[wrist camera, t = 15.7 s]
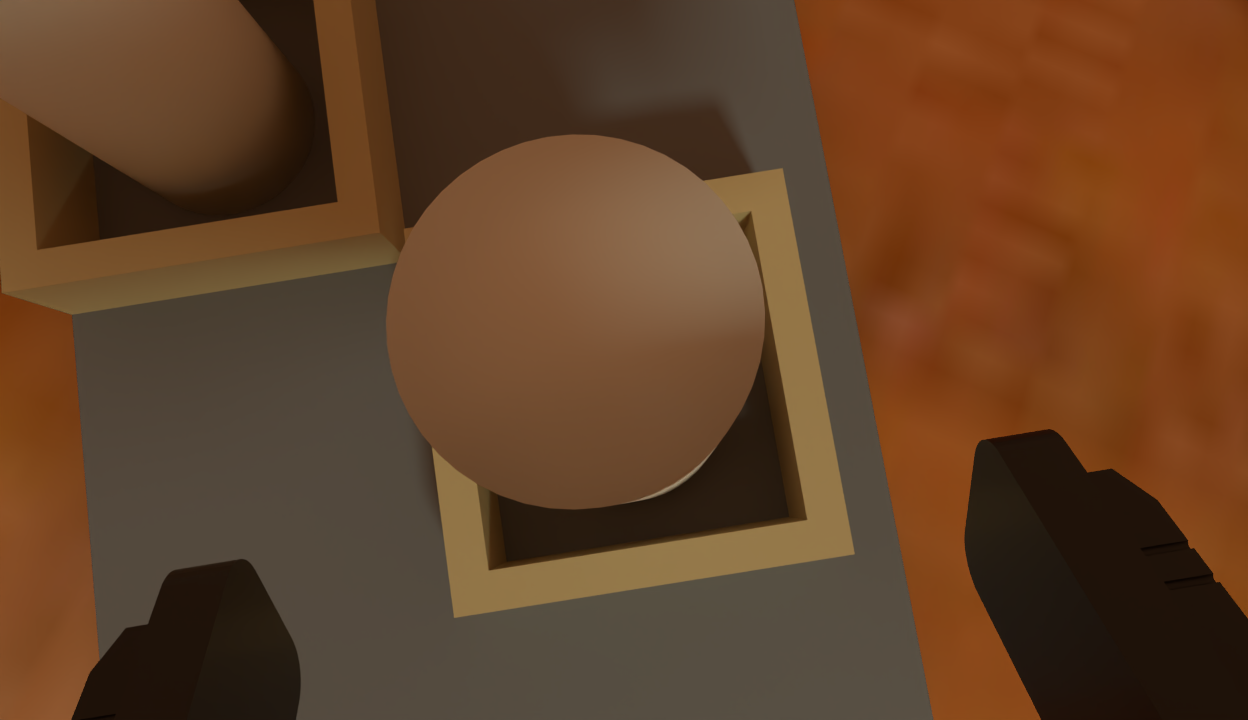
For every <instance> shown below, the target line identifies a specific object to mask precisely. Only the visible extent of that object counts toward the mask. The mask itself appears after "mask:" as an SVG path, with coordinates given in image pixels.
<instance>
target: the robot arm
mask: <svg viewBox="0 0 1248 720" xmlns="http://www.w3.org/2000/svg"><path fill="white" fill-rule="evenodd" d="M965 551H966V557H967V562H968V567H969V570H970V574H971V577H972V580H973V583H974V585H975V588H976V590H977V592H978V594H979V596H980V598H981V600H982V602H983V604H984V606H985V608H986V610H987V612H988V614H989V616H990V618H991V620H992V622H993V624H994V626H995V628H996V630H997V632H998V634H999V636H1000V638H1001V640H1002V642H1003V644H1004V646H1005V648H1006V650H1007V652H1008V654H1009V656H1010V658H1011V660H1012V662H1013V664H1014V666H1015V668H1016V670H1017V672H1018V674H1019V676H1020V678H1021V680H1022V682H1023V684H1024V686H1025V688H1026V690H1027V692H1028V694H1029V696H1030V698H1031V700H1032V702H1033V704H1034V706H1035V708H1036V710H1037V712H1038V714H1039V716H1040V718H1041V720H1248V619H1247V617H1246V616H1245V615H1244V613H1243V612H1242V611H1241V609H1240V608H1239V607H1238V605H1237V604H1236V603H1235V601H1234V600H1233V599H1232V598H1231V596H1230V595H1229V594H1228V592H1227V591H1226V590H1225V588H1224V587H1223V586H1222V584H1221V583H1220V582H1217V583H1216V582H1215V580H1214V578H1213V573H1212V571H1211V570H1210V569H1209V567H1208V566H1207V565H1206V563H1205V562H1204V561H1203V559H1202V558H1201V557H1200V555H1199V554H1198V553H1197V552H1196V550H1195V549H1194V548H1192V549H1190V547H1189V546H1188V540H1187V538H1186V537H1185V536H1184V534H1183V533H1182V532H1181V531H1180V529H1179V528H1178V527H1177V525H1176V524H1175V523H1174V521H1173V520H1172V519H1171V517H1170V516H1169V515H1168V513H1167V512H1166V511H1165V509H1164V508H1163V507H1162V506H1161V504H1160V503H1159V502H1158V500H1156V499H1155V498H1154V497H1152V496H1151V495H1149V494H1148V493H1146V492H1145V491H1143V490H1142V489H1141V488H1139V487H1138V486H1136V485H1135V484H1133V483H1132V482H1130V481H1129V480H1128V479H1126V478H1125V477H1123V476H1122V475H1120V474H1119V473H1117V472H1116V471H1114V470H1113V469H1107V470H1101V471H1095V472H1089V473H1087V472H1086V470H1085V469H1084V467H1083V466H1082V465H1081V463H1080V462H1079V460H1078V459H1077V457H1076V456H1075V455H1074V453H1073V452H1072V450H1071V449H1070V447H1069V446H1068V445H1067V443H1066V442H1065V440H1064V439H1063V438H1062V437H1061V436H1060V435H1059V434H1058V433H1057V432H1055V431H1054V430H1050V429H1047V430H1041V431H1035V432H1029V433H1023V434H1017V435H1011V436H1004V437H998V438H992V439H986V440H982V441H980V442H979V443H978V445H977V448H976V451H975V457H974V465H973V472H972V480H971V488H970V496H969V504H968V511H967V519H966V527H965ZM300 692H301V672H300V663H299V658H298V654H297V650H296V647H295V644H294V642H293V640H292V638H291V636H290V634H289V632H288V630H287V628H286V626H285V625H284V623H283V621H282V619H281V617H280V615H279V613H278V611H277V610H276V608H275V606H274V604H273V602H272V600H271V598H270V596H269V595H268V593H267V591H266V589H265V587H264V585H263V583H262V582H261V580H260V578H259V576H258V574H257V572H256V570H255V569H254V567H253V566H252V564H251V563H250V562H249V561H247V560H245V559H238V560H232V561H226V562H220V563H213V564H207V565H201V566H195V567H189V568H183V569H177V570H173V571H171V572H170V573H169V574H168V575H167V576H166V578H165V579H164V581H163V583H162V586H161V588H160V591H159V594H158V597H157V599H156V602H155V605H154V608H153V611H152V614H151V616H150V619H149V622H148V624H146V625H140V626H134V627H128V628H125V629H124V631H123V632H122V633H121V634H120V636H119V637H118V638H117V639H116V641H115V642H114V643H113V644H112V646H111V647H110V648H109V649H108V651H107V652H106V653H105V654H104V656H103V657H102V658H101V659H100V661H99V662H98V663H97V664H96V666H95V667H94V668H93V669H92V671H91V672H90V674H89V676H88V679H87V681H86V684H85V687H84V689H83V692H82V694H81V697H80V699H79V702H78V704H77V707H76V709H75V712H74V714H73V717H72V720H296V717H297V711H298V706H299V700H300Z"/></svg>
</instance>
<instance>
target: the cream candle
mask: <svg viewBox="0 0 1248 720" xmlns="http://www.w3.org/2000/svg"><path fill="white" fill-rule="evenodd" d="M764 330H765V307H764V297H763V287H762V283H761V279H760V275H759V271H758V267H757V263H756V260H755V258H754V255H753V253H752V250H751V247H750V245H749V242H748V240H747V238H746V236H745V235H744V233H743V231H742V229H741V227H740V225H739V224H738V222H737V220H736V219H735V217H734V216H733V214H732V213H731V212H730V210H729V209H728V208H727V206H726V205H725V204H724V202H723V201H722V200H721V199H720V198H719V197H718V196H717V194H716V193H715V192H714V191H713V190H712V189H711V188H710V187H709V186H708V185H707V184H706V183H705V182H704V181H702V180H701V179H700V178H699V177H697V176H696V175H695V174H694V173H692V172H691V171H690V170H689V169H687V168H686V167H684V166H683V165H681V164H679V163H678V162H676V161H674V160H673V159H671V158H669V157H668V156H666V155H664V154H662V153H659V152H657V151H655V150H652V149H650V148H648V147H646V146H643V145H640V144H636V143H633V142H629V141H626V140H623V139H618V138H612V137H605V136H599V135H576V134H571V135H561V136H551V137H545V138H540V139H536V140H532V141H527V142H523V143H521V144H518V145H515V146H512V147H510V148H507V149H504V150H502V151H500V152H498V153H496V154H494V155H492V156H490V157H488V158H486V159H484V160H482V161H480V162H479V163H477V164H476V165H474V166H473V167H471V168H470V169H468V170H467V171H465V172H464V173H462V174H461V175H460V176H459V177H457V178H456V179H455V180H454V181H453V182H452V183H451V184H449V185H448V186H447V187H446V188H445V189H444V190H443V191H442V192H441V193H440V194H439V195H438V196H437V197H436V198H435V200H434V201H433V202H432V203H431V204H430V205H429V206H428V208H427V209H426V210H425V211H424V213H423V214H422V216H421V217H420V219H419V220H418V222H417V223H416V225H415V226H414V228H413V229H412V231H411V233H410V235H409V237H408V239H407V241H406V243H405V245H404V247H403V249H402V251H401V253H400V256H399V259H398V262H397V265H396V267H395V270H394V273H393V277H392V282H391V286H390V291H389V295H388V304H387V316H386V332H387V348H388V354H389V359H390V365H391V370H392V373H393V376H394V379H395V383H396V386H397V389H398V392H399V394H400V396H401V399H402V401H403V403H404V405H405V407H406V409H407V411H408V413H409V415H410V417H411V418H412V420H413V421H414V423H415V425H416V426H417V428H418V429H419V431H420V432H421V434H422V435H423V437H424V438H425V439H426V440H427V441H428V442H429V443H430V445H431V446H432V447H433V448H434V449H435V450H436V452H437V453H438V454H439V455H440V456H441V457H442V458H444V459H445V460H446V461H447V462H448V463H449V464H450V465H452V466H453V467H454V468H455V469H456V470H457V471H459V472H460V473H462V474H463V475H465V476H466V477H468V478H469V479H471V480H472V481H474V482H475V483H477V484H478V485H480V486H482V487H484V488H486V489H488V490H490V491H492V492H494V493H496V494H498V495H500V496H503V497H506V498H509V499H512V500H515V501H518V502H521V503H524V504H530V505H535V506H540V507H546V508H554V509H573V510H576V509H588V508H601V507H606V506H612V505H618V504H624V503H630V502H635V501H641V500H646V499H650V498H654V497H657V496H660V495H663V494H666V493H668V492H669V491H671V490H673V489H675V488H677V487H679V486H680V485H681V484H683V483H684V482H686V481H687V480H688V479H690V478H691V477H692V476H693V475H694V474H695V473H696V472H697V471H698V470H699V469H700V467H701V466H702V465H703V464H704V463H705V461H706V460H707V459H708V457H709V456H710V455H711V453H712V452H713V451H714V449H715V448H716V447H717V445H718V444H719V442H720V441H721V440H722V438H723V437H724V436H725V434H726V433H727V432H728V430H729V429H730V427H731V425H732V424H733V422H734V421H735V419H736V418H737V416H738V414H739V413H740V411H741V410H742V408H743V406H744V404H745V401H746V399H747V397H748V395H749V393H750V391H751V388H752V386H753V383H754V380H755V377H756V373H757V370H758V367H759V364H760V360H761V354H762V348H763V342H764Z"/></svg>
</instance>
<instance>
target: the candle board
mask: <svg viewBox="0 0 1248 720" xmlns="http://www.w3.org/2000/svg"><path fill="white" fill-rule="evenodd" d="M571 134H576V135H599V136H605V137H612V138H618V139H623V140H626V141H629V142H633V143H636V144H640V145H643V146H646V147H648V148H650V149H652V150H655V151H657V152H659V153H662V154H664V155H666V156H668V157H669V158H671V159H673V160H674V161H676V162H678V163H679V164H681V165H683V166H684V167H686V168H687V169H689V170H690V171H691V172H692V173H694V174H695V175H696V176H697V177H699V178H700V179H701V180H702V181H704V182H705V183H706V184H707V185H708V186H709V187H710V188H711V189H712V190H713V191H714V192H715V193H716V194H717V196H718V197H719V198H720V199H721V200H722V201H723V202H724V204H725V205H726V206H727V208H728V209H729V210H730V212H731V213H732V214H733V216H734V217H735V219H736V220H737V222H738V224H739V225H740V227H741V229H742V231H743V233H744V235H745V236H746V238H747V240H748V242H749V245H750V247H751V250H752V253H753V255H754V258H755V260H756V263H757V267H758V271H759V275H760V279H761V283H762V287H763V297H764V307H765V330H764V342H763V348H762V354H761V360H760V364H759V367H758V370H757V373H756V377H755V380H754V383H753V386H752V388H751V391H750V393H749V395H748V397H747V399H746V401H745V404H744V406H743V408H742V410H741V411H740V413H739V414H738V416H737V418H736V419H735V421H734V422H733V424H732V425H731V427H730V429H729V430H728V432H727V433H726V434H725V436H724V437H723V438H722V440H721V441H720V442H719V444H718V445H717V447H716V448H715V449H714V451H713V452H712V453H711V455H710V456H709V457H708V459H707V460H706V461H705V463H704V464H703V465H702V466H701V467H700V469H699V470H698V471H697V472H696V473H695V474H694V475H693V476H692V477H691V478H690V479H688V480H687V481H686V482H684V483H683V484H681V485H680V486H679V487H677V488H675V489H673V490H671V491H669V492H668V493H666V494H663V495H660V496H657V497H654V498H650V499H646V500H641V501H635V502H630V503H624V504H618V505H612V506H606V507H601V508H588V509H576V510H573V509H554V508H546V507H540V506H535V505H530V504H524V503H521V502H518V501H515V500H512V499H509V498H506V497H503V496H500V495H498V494H496V493H494V492H492V491H490V490H488V489H486V488H484V487H482V486H480V485H478V484H477V483H475V482H474V481H472V480H471V479H469V478H468V477H466V476H465V475H463V474H462V473H460V472H459V471H457V470H456V469H455V468H454V467H453V466H452V465H450V464H449V463H448V462H447V461H446V460H445V459H444V458H442V457H441V456H440V455H439V454H438V453H437V452H436V450H435V449H434V448H433V447H432V446H431V445H430V443H429V442H428V441H427V440H426V439H425V438H424V437H423V435H422V434H421V432H420V431H419V429H418V428H417V426H416V425H415V423H414V421H413V420H412V418H411V417H410V415H409V413H408V411H407V409H406V407H405V405H404V403H403V401H402V399H401V396H400V394H399V392H398V389H397V386H396V383H395V379H394V376H393V373H392V370H391V365H390V359H389V354H388V348H387V332H386V316H387V304H388V295H389V291H390V286H391V282H392V277H393V273H394V270H395V267H396V265H397V262H398V259H399V256H400V253H401V251H402V249H403V247H404V245H405V243H406V241H407V239H408V237H409V235H410V233H411V231H412V229H413V228H414V226H415V225H416V223H417V222H418V220H419V219H420V217H421V216H422V214H423V213H424V211H425V210H426V209H427V208H428V206H429V205H430V204H431V203H432V202H433V201H434V200H435V198H436V197H437V196H438V195H439V194H440V193H441V192H442V191H443V190H444V189H445V188H446V187H447V186H448V185H449V184H451V183H452V182H453V181H454V180H455V179H456V178H457V177H459V176H460V175H461V174H462V173H464V172H465V171H467V170H468V169H470V168H471V167H473V166H474V165H476V164H477V163H479V162H480V161H482V160H484V159H486V158H488V157H490V156H492V155H494V154H496V153H498V152H500V151H502V150H504V149H507V148H510V147H512V146H515V145H518V144H521V143H523V142H527V141H532V140H536V139H540V138H545V137H551V136H561V135H571ZM0 272H1V287H2V293H3V294H7V295H10V296H13V297H16V298H20V299H23V300H26V301H29V302H33V303H36V304H39V305H42V306H45V307H49V308H52V309H55V310H58V311H62V312H65V313H68V314H71V315H72V319H73V332H74V344H75V357H76V369H77V382H78V394H79V407H80V419H81V432H82V444H83V457H84V469H85V482H86V494H87V507H88V519H89V532H90V544H91V557H92V569H93V582H94V594H95V607H96V619H97V632H98V644H99V657H100V659H101V658H102V657H103V656H104V654H105V653H106V652H107V651H108V649H109V648H110V647H111V646H112V644H113V643H114V642H115V641H116V639H117V638H118V637H119V636H120V634H121V633H122V632H123V631H124V629H125V628H128V627H134V626H140V625H146V624H148V622H149V619H150V616H151V614H152V611H153V608H154V605H155V602H156V599H157V597H158V594H159V591H160V588H161V586H162V583H163V581H164V579H165V578H166V576H167V575H168V574H169V573H170V572H171V571H173V570H177V569H183V568H189V567H195V566H201V565H207V564H213V563H220V562H226V561H232V560H238V559H245V560H247V561H249V562H250V563H251V564H252V566H253V567H254V569H255V570H256V572H257V574H258V576H259V578H260V580H261V582H262V583H263V585H264V587H265V589H266V591H267V593H268V595H269V596H270V598H271V600H272V602H273V604H274V606H275V608H276V610H277V611H278V613H279V615H280V617H281V619H282V621H283V623H284V625H285V626H286V628H287V630H288V632H289V634H290V636H291V638H292V640H293V642H294V644H295V647H296V650H297V654H298V658H299V663H300V672H301V692H300V700H299V706H298V711H297V717H296V720H933V716H932V710H931V705H930V700H929V695H928V690H927V685H926V679H925V674H924V669H923V664H922V659H921V654H920V649H919V643H918V638H917V633H916V628H915V623H914V618H913V612H912V607H911V602H910V597H909V592H908V587H907V581H906V576H905V571H904V566H903V561H902V556H901V550H900V545H899V540H898V535H897V530H896V525H895V519H894V514H893V509H892V504H891V499H890V494H889V488H888V483H887V478H886V473H885V468H884V463H883V457H882V452H881V447H880V442H879V437H878V432H877V426H876V421H875V416H874V411H873V406H872V401H871V396H870V390H869V385H868V380H867V375H866V370H865V365H864V359H863V354H862V349H861V344H860V339H859V334H858V328H857V323H856V318H855V313H854V308H853V303H852V297H851V292H850V287H849V282H848V277H847V272H846V266H845V261H844V256H843V251H842V246H841V241H840V235H839V230H838V225H837V220H836V215H835V210H834V204H833V199H832V194H831V189H830V184H829V179H828V173H827V168H826V163H825V158H824V153H823V148H822V143H821V137H820V132H819V127H818V122H817V117H816V112H815V106H814V101H813V96H812V91H811V86H810V81H809V75H808V70H807V65H806V60H805V55H804V50H803V44H802V39H801V34H800V29H799V24H798V19H797V13H796V8H795V3H794V0H0Z"/></svg>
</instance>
